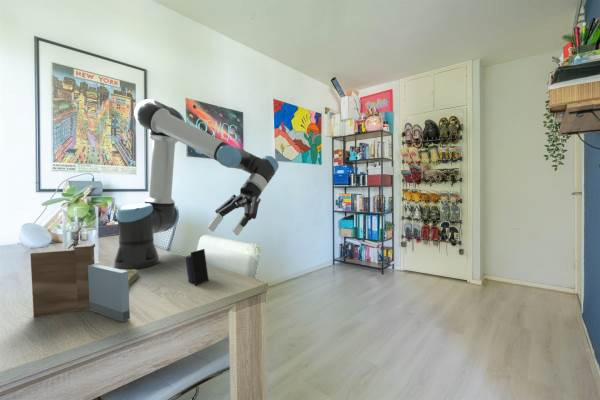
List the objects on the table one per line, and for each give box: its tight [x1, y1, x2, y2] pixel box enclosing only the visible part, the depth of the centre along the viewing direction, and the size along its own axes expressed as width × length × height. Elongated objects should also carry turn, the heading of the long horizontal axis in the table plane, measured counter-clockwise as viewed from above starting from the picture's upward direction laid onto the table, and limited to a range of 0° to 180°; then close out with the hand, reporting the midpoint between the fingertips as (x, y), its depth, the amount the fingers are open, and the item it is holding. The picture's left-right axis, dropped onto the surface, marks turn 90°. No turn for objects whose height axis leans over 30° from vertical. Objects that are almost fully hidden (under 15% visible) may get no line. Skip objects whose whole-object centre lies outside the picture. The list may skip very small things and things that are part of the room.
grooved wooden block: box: [30, 243, 96, 318], centre depth 68 cm, size 3×12×16 cm, turn 113°
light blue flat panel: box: [88, 263, 131, 323], centre depth 65 cm, size 13×2×11 cm, turn 63°
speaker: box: [185, 248, 209, 287], centre depth 89 cm, size 8×6×10 cm
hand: (222, 231), depth 97 cm, fingers open, 13 cm apart
